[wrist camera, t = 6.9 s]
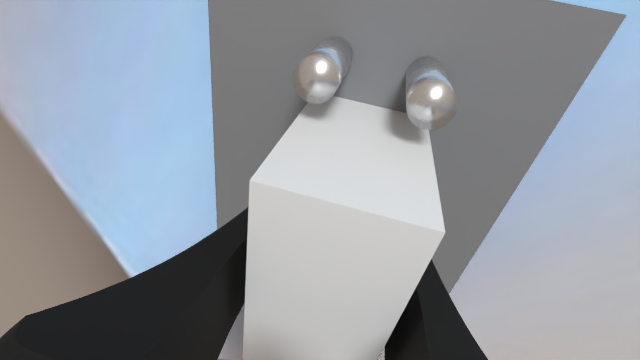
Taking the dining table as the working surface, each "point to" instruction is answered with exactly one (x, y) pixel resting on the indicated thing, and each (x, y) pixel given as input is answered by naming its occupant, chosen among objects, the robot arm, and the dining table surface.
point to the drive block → (338, 233)
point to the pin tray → (405, 88)
